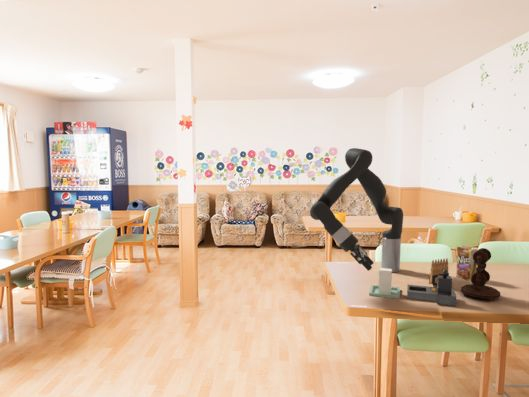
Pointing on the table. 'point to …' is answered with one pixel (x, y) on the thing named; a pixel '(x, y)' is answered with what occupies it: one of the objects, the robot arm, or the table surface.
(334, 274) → the table surface
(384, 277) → the plug
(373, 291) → the tray
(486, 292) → the turned wooden stand
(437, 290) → the grey charging dock
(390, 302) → the table surface
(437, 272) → the ammunition clip
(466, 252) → the candy box
